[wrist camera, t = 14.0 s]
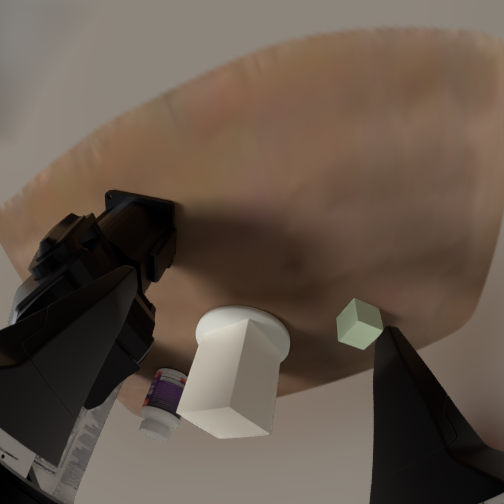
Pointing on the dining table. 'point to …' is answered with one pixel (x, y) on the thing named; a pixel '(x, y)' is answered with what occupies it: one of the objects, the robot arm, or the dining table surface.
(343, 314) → the block
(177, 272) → the dining table surface
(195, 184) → the dining table surface
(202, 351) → the cover
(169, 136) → the dining table surface
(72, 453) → the juice carton
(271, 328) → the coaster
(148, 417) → the pill bottle
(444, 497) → the robot arm
